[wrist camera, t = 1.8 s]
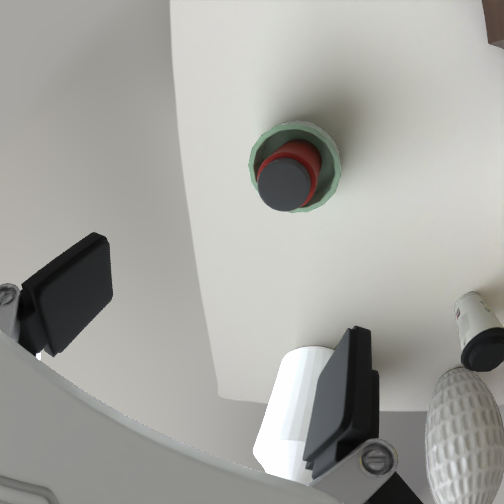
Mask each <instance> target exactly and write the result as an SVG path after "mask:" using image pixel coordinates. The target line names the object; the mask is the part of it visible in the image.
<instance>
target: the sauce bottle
mask: <svg viewBox="0 0 504 504" xmlns="http://www.w3.org/2000/svg"><path fill="white" fill-rule="evenodd" d="M321 166H322V158H321V154H320V152H319V150H318V149H317V148H316V146H315V145H313V144H312V143H311V142H309V141H307V140H303V139H293V140H290V141H288V142H286V143H285V144H283V145H282V146H281V147H280V148H279V149H277V150H276V151H275V152H274V153H273V154H272V155H270V156H269V157H268V158H267V159H266V160H265V161H264V162H263V163H262V165H261V166H260V168H259V171H258V176H257V188H258V193H259V195H260V197H261V199H262V200H263V201H264V203H265V204H267V205H268V206H269V207H271V208H272V209H275V210H278V211H283V212H287V211H292V210H295V209H297V208H299V207H301V206H303V205H305V204H306V203H307V202H308V201H309V200H310V199H311V198H312V196H313V195H314V192H315V189H316V186H317V182H318V178H319V174H320V170H321Z"/></svg>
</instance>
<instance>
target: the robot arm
mask: <svg viewBox="0 0 504 504" xmlns="http://www.w3.org/2000/svg"><path fill="white" fill-rule="evenodd" d="M109 246H110V245H109V242H108V241H107V238H106V237H105V236H103V235H100V234H98V233H95V232H93V233H91V234H89V235H88V236H86V237H85V238H83V239H82V240H80V241H79V242H78V243H76V244H75V245H73V246H72V247H70V248H69V249H68V250H66V251H65V252H63V253H62V254H61V255H59V256H58V257H56V258H55V259H54V260H52V261H51V262H50V263H49V264H47V265H46V266H45V267H43V268H42V269H40V270H39V271H38V272H37V273H35V274H34V275H32V276H31V277H30V278H29V279H28V280H26V281H25V282H24V283H22V284H21V285H22V288H23V289H22V290H21V291H19V288H18V287H17V286H16V285H14V284H10V283H6V284H2V285H0V504H423V503H422V502H421V501H420V499H419V498H418V497H417V496H416V495H415V494H414V492H413V491H412V490H411V489H410V488H409V487H408V485H407V484H406V483H405V482H404V481H403V480H402V478H401V477H400V476H399V475H398V474H397V473H396V469H397V466H398V455H397V452H396V450H395V449H394V447H393V446H392V445H391V444H390V443H388V442H387V441H385V440H383V439H379V438H378V437H379V373H378V371H376V370H372V350H371V331H370V330H368V329H365V328H362V327H358V326H354V327H353V329H351V328H348V329H347V330H346V332H345V334H344V335H343V337H342V339H341V341H340V342H339V344H338V346H337V347H336V349H335V351H334V352H333V354H332V356H331V357H330V359H329V360H328V362H327V364H326V365H325V367H324V368H323V370H322V372H321V373H320V375H319V378H318V381H317V386H316V392H315V398H314V403H313V409H312V414H311V419H310V424H309V429H308V434H307V439H306V443H305V448H304V453H303V458H302V459H303V461H307V462H306V466H305V469H307V470H312V475H311V477H312V479H313V480H312V481H311V482H309V483H308V484H307V485H304V484H301V483H298V482H295V481H292V480H288V479H285V478H282V477H278V476H275V475H272V474H269V473H265V472H262V471H258V470H255V469H252V468H249V467H246V466H243V465H240V464H237V463H234V462H231V461H228V460H226V459H223V458H220V457H217V456H215V455H212V454H209V453H207V452H204V451H201V450H199V449H196V448H194V447H191V446H188V445H187V444H184V443H182V442H180V441H177V440H175V439H173V438H171V437H168V436H166V435H164V434H162V433H160V432H158V431H155V430H154V429H151V428H149V427H147V426H145V425H143V424H141V423H139V422H138V421H135V420H134V419H131V418H130V417H128V416H126V415H124V414H122V413H120V412H119V411H117V410H115V409H113V408H112V407H110V406H108V405H106V404H105V403H103V402H101V401H100V400H98V399H96V398H95V397H93V396H91V395H90V394H88V393H87V392H85V391H84V390H82V389H80V388H79V387H77V386H76V385H74V384H73V383H71V382H70V381H68V380H67V379H65V378H64V377H62V376H61V375H59V374H58V373H56V372H55V371H54V370H52V369H51V368H49V367H48V366H47V365H45V364H44V363H43V362H41V361H40V352H41V350H42V349H43V348H44V351H45V352H47V353H48V354H49V355H51V356H52V357H54V356H55V355H56V354H57V353H61V352H62V351H63V350H64V349H65V348H66V347H67V346H68V345H69V344H70V343H71V342H72V341H73V340H74V339H75V337H76V336H77V335H78V334H79V333H80V332H81V331H82V330H83V329H84V328H85V327H86V326H87V325H88V324H89V323H90V322H91V321H92V320H93V319H94V318H95V317H96V315H97V314H98V313H99V312H100V311H101V310H102V309H103V308H104V307H105V306H106V305H107V304H108V303H109V302H110V301H111V299H112V297H113V289H112V278H111V263H110V247H109Z"/></svg>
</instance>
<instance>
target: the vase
mask: <svg viewBox="0 0 504 504" xmlns="http://www.w3.org/2000/svg"><path fill="white" fill-rule="evenodd" d="M425 460H426V471H427V477H428V483H429V487H430V490H431V493H432V496H433V498H434V501H435V503H436V504H492V502H493V500H494V498H495V496H496V494H497V491H498V490H499V487H500V484H501V481H502V478H503V473H504V427H503V422H502V418H501V414H500V412H499V408H498V406H497V403H496V401H495V399H494V397H493V395H492V393H491V392H490V390H489V389H488V387H487V386H486V384H485V383H484V382H483V381H482V380H481V379H480V378H479V377H478V376H477V375H475V374H474V373H473V372H471V371H469V370H468V369H466V368H456V369H453V370H450V371H448V372H447V373H445V374H444V375H443V376H442V377H441V378H440V380H439V382H438V384H437V386H436V388H435V390H434V393H433V395H432V398H431V402H430V405H429V409H428V414H427V420H426V429H425Z"/></svg>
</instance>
